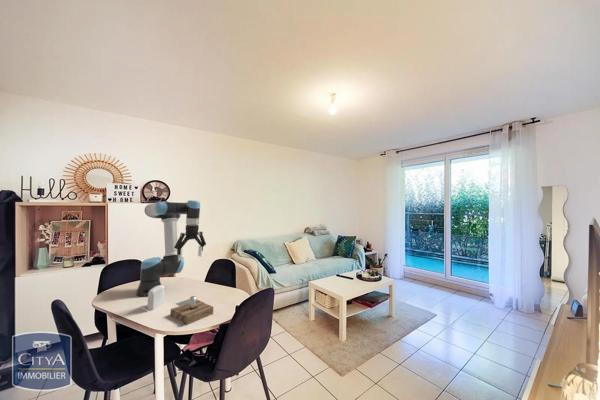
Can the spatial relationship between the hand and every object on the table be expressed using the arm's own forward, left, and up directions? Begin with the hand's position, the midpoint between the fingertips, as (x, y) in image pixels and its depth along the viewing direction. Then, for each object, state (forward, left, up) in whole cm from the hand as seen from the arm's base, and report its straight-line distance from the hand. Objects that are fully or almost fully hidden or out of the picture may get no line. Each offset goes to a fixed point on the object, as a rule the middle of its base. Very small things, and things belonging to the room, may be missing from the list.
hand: (190, 258), depth 149 cm
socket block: (+16, -8, -29) cm, 34 cm away
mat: (+1, 0, -29) cm, 29 cm away
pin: (+16, -8, -29) cm, 34 cm away
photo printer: (-10, -15, -29) cm, 34 cm away
